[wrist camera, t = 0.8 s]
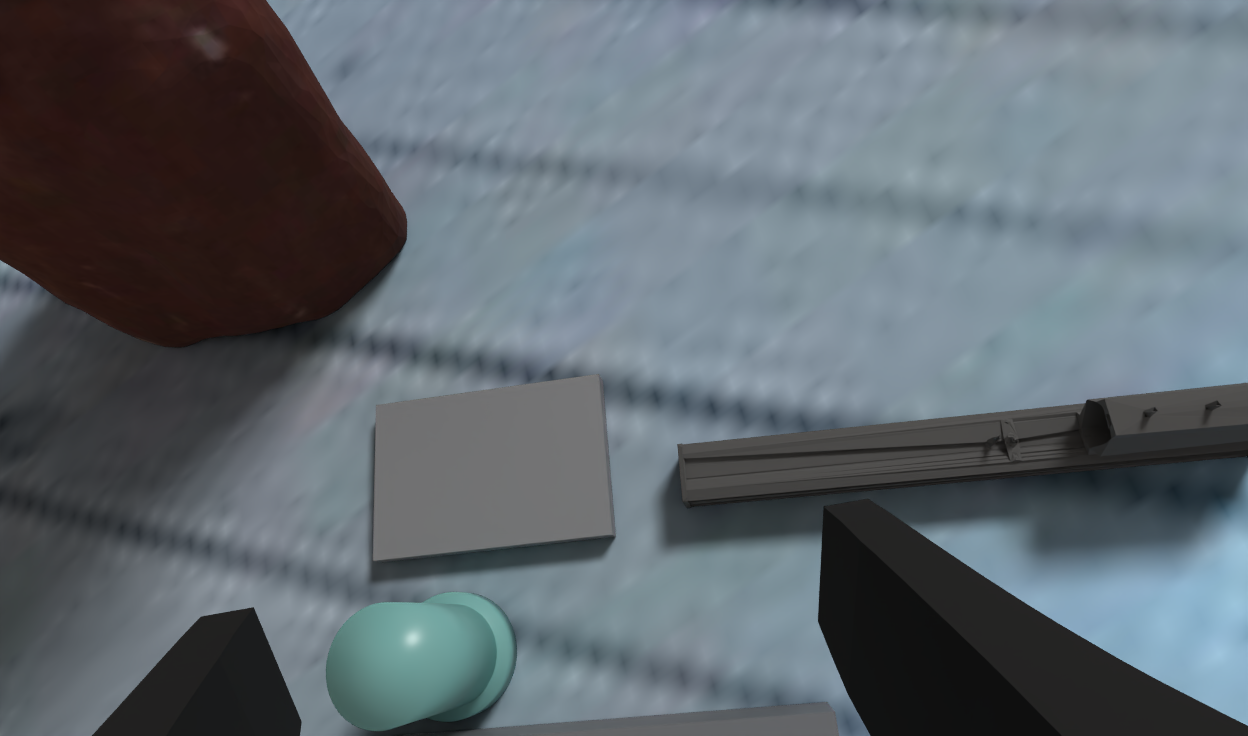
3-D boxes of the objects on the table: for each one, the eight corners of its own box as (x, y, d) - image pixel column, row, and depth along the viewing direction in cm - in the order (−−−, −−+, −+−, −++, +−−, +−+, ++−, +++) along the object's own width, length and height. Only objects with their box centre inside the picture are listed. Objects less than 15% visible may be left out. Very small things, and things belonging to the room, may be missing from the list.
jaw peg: (519, 713, 26) (453, 741, 20) (404, 722, 26) (309, 752, 21) (514, 587, 27) (451, 580, 21) (405, 598, 28) (316, 595, 22)
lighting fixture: (689, 526, 27) (677, 512, 23) (682, 455, 28) (669, 430, 24) (1253, 477, 24) (1348, 451, 21) (1226, 400, 25) (1312, 361, 21)
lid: (615, 536, 27) (611, 534, 26) (383, 562, 28) (372, 560, 27) (602, 380, 29) (598, 374, 28) (385, 410, 30) (376, 405, 29)
